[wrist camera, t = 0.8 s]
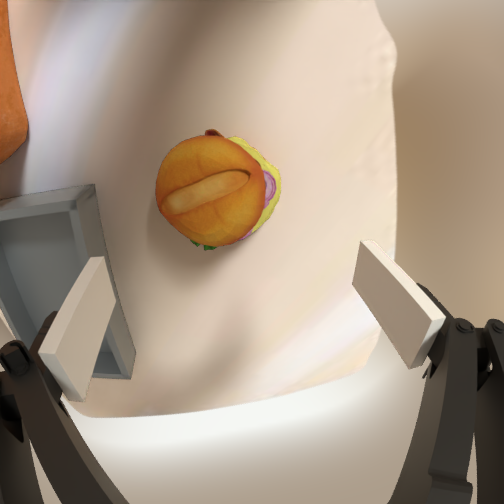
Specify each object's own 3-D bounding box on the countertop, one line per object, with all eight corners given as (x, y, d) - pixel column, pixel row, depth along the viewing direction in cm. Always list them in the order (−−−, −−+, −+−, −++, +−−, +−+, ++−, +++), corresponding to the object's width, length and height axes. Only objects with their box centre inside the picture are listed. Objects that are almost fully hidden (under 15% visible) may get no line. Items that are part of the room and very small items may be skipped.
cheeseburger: (242, 250, 33) (229, 294, 24) (161, 196, 31) (118, 220, 22) (297, 175, 30) (308, 190, 20) (211, 117, 28) (182, 106, 19)
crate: (-10, 202, 25) (-33, 218, 21) (94, 184, 27) (75, 199, 23) (45, 348, 36) (35, 371, 32) (136, 352, 38) (131, 379, 34)
